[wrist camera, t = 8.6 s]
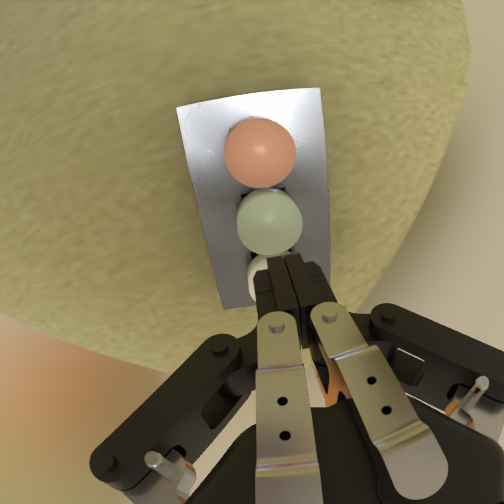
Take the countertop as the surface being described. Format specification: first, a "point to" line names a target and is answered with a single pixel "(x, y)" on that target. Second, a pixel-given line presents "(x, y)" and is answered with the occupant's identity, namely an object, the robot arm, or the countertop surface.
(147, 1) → the countertop surface
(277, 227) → the sage button
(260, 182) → the terracotta button
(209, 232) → the panel
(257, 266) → the ivory button
